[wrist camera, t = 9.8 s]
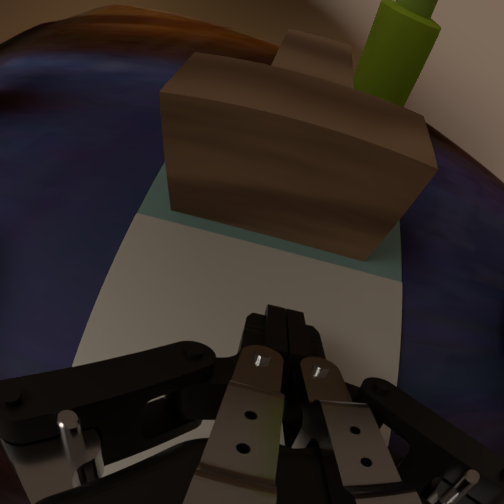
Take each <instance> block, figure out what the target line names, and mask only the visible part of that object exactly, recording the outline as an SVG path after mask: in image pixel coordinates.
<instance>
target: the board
mask: <svg viewBox="0 0 504 504" xmlns="http://www.w3.org/2000/svg"><path fill="white" fill-rule="evenodd" d="M268 304H270V305H274V306H278V307H283V308H285V309H286V308H287V309H291V310H296V311H300V312H303V313H304V318H305V323H306V325H311V326H314V327H315V329H316V330H317V331H318V332H319V333H320V337H321V341H322V345H323V346H322V347H323V349H324V353H325V357H326V360H328V361H330V362H332V363H333V364H335V365H336V366H337V367H338V368H339V370H340V372H341V375H342V377H343V379H344V382H347V383H349V384H352V385H355V386H358V387H360V386H361V384H362V382H363V380H364V379H366V378H369V377H377V378H381V379H384V380H386V381H388V382H390V383H392V384H393V385H395V386H396V387H397V380H398V369H399V357H400V343H401V323H402V266H401V236H400V220H399V221H398V222H397V224H396V225H395V226H394V227H393V228H392V230H391V231H390V232H389V233H388V235H387V236H386V237H385V238H384V239H383V241H382V242H381V243H380V244H379V245H378V247H377V248H376V249H375V250H374V251H373V252H372V254H371V255H370V256H369V257H368V258H367V259H366V261H365V262H363V261H359V260H356V259H352V258H349V257H345V256H341V255H338V254H334V253H331V252H327V251H323V250H320V249H316V248H312V247H309V246H305V245H301V244H298V243H294V242H290V241H287V240H283V239H279V238H276V237H272V236H268V235H264V234H261V233H257V232H253V231H249V230H245V229H242V228H238V227H234V226H230V225H226V224H222V223H219V222H215V221H211V220H207V219H203V218H199V217H195V216H191V215H187V214H184V213H180V212H176V211H172V210H171V208H170V200H169V192H168V184H167V175H166V166H165V162H164V164H163V166H162V167H161V169H160V171H159V173H158V175H157V176H156V178H155V180H154V182H153V184H152V186H151V187H150V189H149V191H148V193H147V195H146V197H145V199H144V201H143V203H142V204H141V206H140V208H139V210H138V212H137V213H136V215H135V217H134V219H133V221H132V223H131V225H130V227H129V229H128V231H127V233H126V235H125V237H124V240H123V242H122V244H121V246H120V248H119V250H118V252H117V254H116V257H115V259H114V261H113V263H112V265H111V268H110V270H109V272H108V274H107V277H106V279H105V281H104V284H103V286H102V288H101V291H100V293H99V296H98V298H97V300H96V303H95V305H94V308H93V310H92V313H91V315H90V318H89V321H88V323H87V326H86V328H85V331H84V334H83V336H82V339H81V342H80V345H79V347H78V350H77V353H76V356H75V359H74V362H73V365H72V367H75V366H80V365H84V364H89V363H93V362H98V361H102V360H107V359H111V358H116V357H120V356H124V355H128V354H132V353H137V352H141V351H145V350H149V349H153V348H157V347H160V346H164V345H168V344H172V343H176V342H180V341H195V342H199V343H202V344H205V345H207V346H208V347H210V348H211V349H212V350H213V351H214V352H215V354H216V357H231V356H234V355H236V354H237V353H238V349H239V344H240V341H241V337H242V333H243V329H244V325H245V321H246V317H247V316H248V315H250V314H251V313H258V314H262V315H264V314H265V310H266V307H267V305H268ZM162 397H164V395H163V396H160V397H157V398H154V399H152V400H150V401H149V402H151V401H154V400H157V399H160V398H162ZM147 403H148V402H147ZM214 422H215V420H202V423H201V425H200V426H199V427H198V428H196V429H194V430H192V431H190V432H187V433H185V434H183V435H181V436H179V437H176V438H174V439H172V440H170V441H167V442H165V443H163V444H160V445H158V446H156V447H153V448H151V449H148V450H146V451H143V452H141V453H138V454H136V455H133V456H131V457H128V458H125V459H123V460H120V461H117V462H115V463H112V464H109V465H106V466H104V472H103V475H102V477H104V476H107V475H109V474H112V473H114V472H116V471H119V470H121V469H124V468H126V467H128V466H131V465H133V464H135V463H137V462H140V461H142V460H144V459H146V458H148V457H151V456H153V455H155V454H157V453H159V452H161V451H163V450H165V449H167V448H169V447H172V446H174V445H176V444H178V443H181V442H184V441H188V440H192V439H199V438H209V436H210V433H211V430H212V428H213V425H214ZM380 432H381V434H382V436H383V439H384V441H385V443H386V446H387V447H388V444H389V439H390V433H391V429H390V428H389V427H388V426H386V425H385V424H384V423H383V425H382V427H381V428H380ZM102 477H101V478H102Z"/></svg>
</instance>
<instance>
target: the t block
mask: <svg viewBox="0 0 504 504" xmlns="http://www.w3.org/2000/svg"><path fill="white" fill-rule="evenodd" d="M159 98H160V111H161V124H162V135H163V146H164V156H165V166H166V175H167V184H168V192H169V200H170V208H171V210H172V211H176V212H180V213H184V214H187V215H191V216H195V217H199V218H203V219H207V220H211V221H215V222H219V223H222V224H226V225H230V226H234V227H238V228H242V229H245V230H249V231H253V232H257V233H261V234H264V235H268V236H272V237H276V238H279V239H283V240H287V241H290V242H294V243H298V244H301V245H305V246H309V247H312V248H316V249H320V250H323V251H327V252H331V253H334V254H338V255H341V256H345V257H349V258H352V259H356V260H359V261H363V262H365V261H366V259H367V258H368V257H369V256H370V255H371V254H372V252H373V251H374V250H375V249H376V248H377V247H378V245H379V244H380V243H381V242H382V241H383V239H384V238H385V237H386V236H387V235H388V233H389V232H390V231H391V230H392V228H393V227H394V226H395V225H396V224H397V222H398V221H399V220H400V219H401V217H402V216H403V215H404V214H405V212H406V211H407V210H408V209H409V207H410V206H411V205H412V203H413V202H414V201H415V200H416V198H417V197H418V196H419V194H420V193H421V192H422V190H423V189H424V188H425V187H426V185H427V184H428V183H429V181H430V180H431V179H432V177H433V176H434V175H435V173H436V172H437V170H438V166H437V162H436V158H435V154H434V151H433V147H432V143H431V140H430V136H429V133H428V129H427V126H426V123H425V120H424V117H423V116H422V115H420V114H417V113H415V112H413V111H410V110H408V109H406V108H403V107H401V106H399V105H396V104H394V103H391V102H389V101H386V100H383V99H381V98H378V97H375V96H373V95H370V94H367V93H364V92H362V91H359V90H356V89H354V83H353V67H352V53H351V46H350V45H347V44H344V43H341V42H337V41H334V40H331V39H327V38H323V37H320V36H316V35H313V34H309V33H305V32H301V31H297V30H293V29H289V30H288V32H287V34H286V36H285V38H284V40H283V42H282V44H281V46H280V48H279V50H278V52H277V55H276V57H275V59H274V61H273V63H272V65H266V64H262V63H257V62H252V61H247V60H241V59H236V58H230V57H224V56H218V55H211V54H204V53H196V52H195V53H194V54H193V55H192V56H191V57H190V58H189V59H188V60H187V61H186V62H185V63H184V64H183V65H182V67H181V68H180V69H179V70H178V71H177V72H176V73H175V74H174V75H173V76H172V78H171V79H170V80H169V81H168V82H167V83H166V84H165V86H164V87H163V88H162V89H161V90H160V91H159Z"/></svg>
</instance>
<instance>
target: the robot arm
mask: <svg viewBox="0 0 504 504" xmlns="http://www.w3.org/2000/svg"><path fill="white" fill-rule="evenodd" d="M322 346H323V345H322V341H321V337H320V333H319V332H318V331H317V330H316V329H315V327H314V326H311V325H306V323H305V318H304V313H303V312H300V311H296V310H291V309H287V308H286V309H285V308H283V307H278V306H274V305H270V304H268V305H267V307H266V310H265V314H264V315H262V314H258V313H251V314H250V315H248V316H247V317H246V321H245V325H244V329H243V333H242V337H241V341H240V344H239V349H238V353H237V354H236V355H234V356H231V357H216V354H215V352H214V351H213V350H212V349H211V348H210V347H208V346H207V345H205V344H202V343H199V342H195V341H180V342H176V343H172V344H168V345H164V346H160V347H157V348H153V349H149V350H145V351H141V352H137V353H132V354H128V355H124V356H120V357H116V358H111V359H107V360H102V361H98V362H93V363H89V364H84V365H80V366H75V367H70V368H65V369H60V370H55V371H50V372H45V373H39V374H34V375H28V376H22V377H17V378H11V379H4V380H0V442H1V445H2V447H3V449H4V451H5V453H6V455H7V457H8V460H9V462H10V464H11V466H12V468H13V469H14V471H15V473H16V475H17V476H18V477H19V478H20V481H21V483H22V485H23V487H24V489H25V492H26V494H27V496H28V498H29V500H30V502H31V504H504V458H502V457H501V456H499V455H498V454H496V453H495V452H493V451H492V450H490V449H488V448H487V447H485V446H484V445H482V444H481V443H479V442H478V441H476V440H475V439H473V438H472V437H470V436H469V435H467V434H466V433H464V432H462V431H461V430H459V429H458V428H456V427H455V426H453V425H452V424H450V423H449V422H447V421H446V420H444V419H443V418H441V417H440V416H439V415H437V414H436V413H434V412H433V411H431V410H430V409H428V408H427V407H425V406H424V405H422V404H421V403H419V402H418V401H416V400H415V399H413V398H412V397H411V396H409V395H408V394H406V393H405V392H403V391H402V390H400V389H399V388H397V387H396V386H395V385H393V384H392V383H390V382H388V381H386V380H384V379H381V378H377V377H369V378H366V379H364V380H363V382H362V384H361V386H360V387H358V386H355V385H352V384H349V383H347V382H344V379H343V377H342V375H341V372H340V370H339V368H338V367H337V366H336V365H335V364H333V363H332V362H330V361H328V360H326V357H325V353H324V349H323V347H322ZM163 395H164V397H162V398H160V399H157V400H154V401H151V402H149V401H150V400H152V399H154V398H157V397H160V396H163ZM147 402H148V403H147ZM202 420H215V422H214V425H213V428H212V430H211V433H210V436H209V438H199V439H192V440H188V441H184V442H181V443H178V444H176V445H174V446H172V447H169V448H167V449H165V450H163V451H161V452H159V453H157V454H155V455H153V456H151V457H148V458H146V459H144V460H142V461H140V462H137V463H135V464H133V465H131V466H128V467H126V468H124V469H121V470H119V471H116V472H114V473H112V474H109V475H107V476H104V477H102V475H103V472H104V466H106V465H109V464H112V463H115V462H117V461H120V460H123V459H125V458H128V457H131V456H133V455H136V454H138V453H141V452H143V451H146V450H148V449H151V448H153V447H156V446H158V445H160V444H163V443H165V442H167V441H170V440H172V439H174V438H176V437H179V436H181V435H183V434H185V433H187V432H190V431H192V430H194V429H196V428H198V427H199V426H200V425H201V423H202ZM383 423H384V424H385V425H386V426H388V427H389V428H390V429H391V430H393V431H394V432H395V433H397V434H398V435H399V436H401V437H402V438H404V439H405V440H406V441H407V442H408V444H409V446H410V451H409V453H408V455H407V456H406V457H405V458H402V457H400V456H399V455H398V454H396V453H395V452H394V451H393V450H391V449H390V448H389V447H387V446H386V443H385V441H384V439H383V436H382V434H381V432H380V428H381V427H382V425H383ZM101 477H102V478H101ZM441 477H442V478H441Z"/></svg>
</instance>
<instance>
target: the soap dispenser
mask: <svg viewBox="0 0 504 504" xmlns="http://www.w3.org/2000/svg"><path fill="white" fill-rule="evenodd" d="M437 1H438V0H396V1H392V0H381V3H380V6H379V8H378V11H377V14H376V17H375V20H374V22H373V25H372V28H371V31H370V34H369V36H368V39H367V42H366V45H365V48H364V50H363V53H362V56H361V59H360V61H359V64H358V66H357V69H356V72H355V74H354V77H353V83H354V89H356V90H359V91H362V92H364V93H367V94H370V95H373V96H375V97H378V98H381V99H383V100H386V101H389V102H391V103H394V104H396V105H399V106H401V107H403V106H404V104H405V102H406V101H407V99H408V96H409V94H410V93H411V91H412V89H413V87H414V84H415V83H416V81H417V78H418V77H419V75H420V72H421V71H422V68H423V66H424V64H425V62H426V60H427V58H428V56H429V54H430V52H431V50H432V47H433V45H434V43H435V41H436V39H437V37H438V34H439V32H440V30H441V27H440V26H439V25H438V24H437V23H436V22H435V21H433V20H432V19H431V15H432V13H433V10H434V8H435V5H436V3H437Z"/></svg>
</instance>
